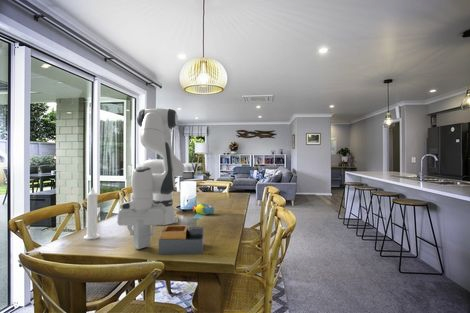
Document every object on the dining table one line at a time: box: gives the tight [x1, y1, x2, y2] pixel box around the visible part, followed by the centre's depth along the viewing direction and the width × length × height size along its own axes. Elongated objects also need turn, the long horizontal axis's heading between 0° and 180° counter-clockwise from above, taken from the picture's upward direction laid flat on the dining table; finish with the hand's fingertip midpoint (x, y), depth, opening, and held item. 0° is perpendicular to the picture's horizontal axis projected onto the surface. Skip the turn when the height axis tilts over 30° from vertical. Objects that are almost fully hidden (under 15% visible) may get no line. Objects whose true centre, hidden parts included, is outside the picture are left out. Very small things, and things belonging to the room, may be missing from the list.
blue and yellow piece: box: [191, 202, 215, 220], centre depth 181 cm, size 28×9×15 cm
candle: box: [83, 187, 101, 241], centre depth 127 cm, size 7×7×25 cm
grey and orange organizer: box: [158, 225, 205, 256], centre depth 112 cm, size 12×18×9 cm, turn 95°
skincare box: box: [133, 221, 151, 250], centre depth 113 cm, size 6×4×12 cm
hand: (142, 235), depth 113 cm, fingers closed on skincare box, 7 cm apart
